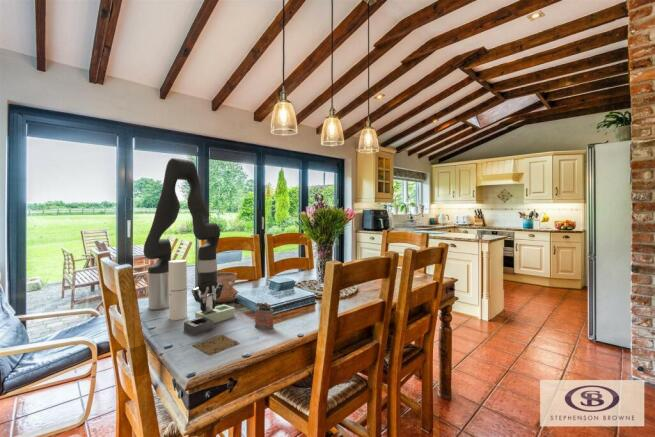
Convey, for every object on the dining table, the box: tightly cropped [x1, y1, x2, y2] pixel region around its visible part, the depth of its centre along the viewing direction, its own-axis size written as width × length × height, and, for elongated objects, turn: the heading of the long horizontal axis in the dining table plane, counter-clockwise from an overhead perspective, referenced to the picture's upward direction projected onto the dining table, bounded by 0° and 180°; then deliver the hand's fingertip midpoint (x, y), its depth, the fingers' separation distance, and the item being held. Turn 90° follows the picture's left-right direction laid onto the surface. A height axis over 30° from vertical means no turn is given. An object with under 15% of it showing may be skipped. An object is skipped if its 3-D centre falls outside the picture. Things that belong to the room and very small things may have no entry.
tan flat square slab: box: [191, 334, 240, 356], centre depth 110 cm, size 12×12×1 cm
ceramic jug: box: [215, 271, 240, 304], centre depth 162 cm, size 18×14×14 cm
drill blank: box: [204, 294, 213, 315], centre depth 132 cm, size 4×4×9 cm
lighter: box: [254, 302, 274, 331], centre depth 125 cm, size 8×3×10 cm, turn 71°
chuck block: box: [183, 317, 215, 337], centre depth 122 cm, size 8×8×4 cm
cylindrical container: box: [168, 259, 188, 321], centre depth 137 cm, size 7×7×25 cm
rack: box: [194, 303, 236, 324], centre depth 135 cm, size 8×14×4 cm, turn 142°
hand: (208, 309), depth 132 cm, fingers closed on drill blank, 3 cm apart
